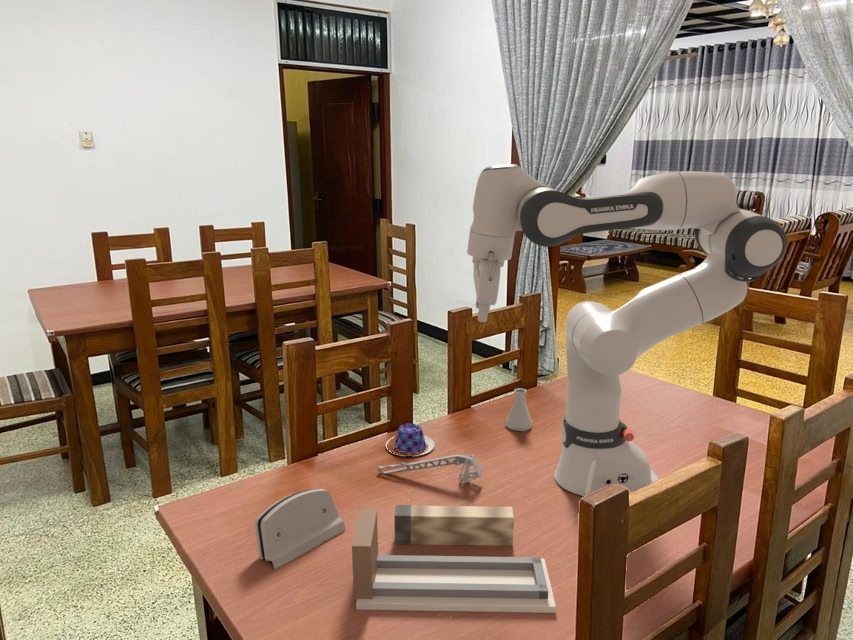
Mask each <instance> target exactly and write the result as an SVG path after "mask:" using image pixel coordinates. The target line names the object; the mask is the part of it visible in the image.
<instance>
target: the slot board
mask: <svg viewBox="0 0 853 640" xmlns="http://www.w3.org/2000/svg"><path fill="white" fill-rule="evenodd" d="M378 535H379V534H378V510H376V509H375V510H374V509H359V512H358V516H357V521H356V526H355V530H354V534H353V539H352V544H351V556H352V558H351V560H352V561H351V562H352V584H353V586H352V587H353V600H356V602H355V606H356V607H355V609H356V610H360V611H410V612H411V611H414V612H415V611H420V612H421V611H424V612H476V613H477V612H478V613H479V612H480V613H482V612H483V613H485V612H486V613H535V614H536V613H537V614H538V613H540V614H541V613H542V614H547V613H548V614H550V613H551V614H556V609H557V607H556V602H555V596H554V593H553V590H552V584H551V581H550V576H549V573H548V568H547V564H546V560H545V558H543V557H542V558H541V557H534V556H533V557H532V556H530V557H529V556H528V557H527V556H521V557H520V556H476V555H475V556H470V555H469V556H467V555H466V556H465V555H464V556H463V555H460V556H459V555H458V556H457V555H405V554H403V555H400V554H399V555H397V554H396V555H393V554H379V538H378Z"/></svg>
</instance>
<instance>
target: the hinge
mask: <svg viewBox="0 0 853 640" xmlns="http://www.w3.org/2000/svg"><path fill="white" fill-rule="evenodd" d="M254 528H255V534H256V535H255V536H256V543H257V548H258V555H259V559H260V560H264V559H265V560H264V561H267V562H268V561H269V562H272V565H273V569H275V570H277V569H279V568H280V567H282V566H285V565H286V564H287V563H290V562H291V561H293V560H296V559H297V558H299V557H300V556H302V555H304V554H306V553H307V552H309V551H310V550H313V549H314V548H316V547H318V546H320V545H322V544H323V543H325V542H327V541H329V540H331V539H333V538H334V537H336V536H338V535H339V534H341V533H342V532H345V531H346V525H345V522H344V520H343V519H342V518H341V516H340V515H339V512H338V510H337V507H336V504H335V502H334V500H333V497H332V495H331V492H329V491H328V490H326V489H325V488H311V489H305V490H301V491H297V492H295V493H291V494H288V495H286V496H284V497H283V498H281V499H279V500H277V501H276V502H273V504H272V505H270V506H269V507H267V508H266V509H265V510H264V511H263V512H262V513H260V515H258V517H257V518H256V519H255V520H254ZM344 530H345V531H344ZM337 534H338V535H337ZM335 535H336V536H335ZM330 538H331V539H330ZM326 540H327V541H326ZM324 541H325V542H324Z"/></svg>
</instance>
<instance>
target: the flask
mask: <svg viewBox="0 0 853 640" xmlns="http://www.w3.org/2000/svg"><path fill="white" fill-rule="evenodd" d="M513 393H514V401H513V404H512V407H511V409H510V412H509V414H508V416H507V418H506V421H505V425H504V427H505V428H507V429H510V430H511V431H519V432H526V431H528V430H531V429H532V427H533V421H532V417H531V415H530V411H529V409H528V406H527V401H526V393H527V389H525V388H514V391H513Z"/></svg>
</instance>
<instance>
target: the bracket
mask: <svg viewBox="0 0 853 640" xmlns="http://www.w3.org/2000/svg"><path fill="white" fill-rule="evenodd" d="M450 459H453V460H450ZM442 461H444V462H442ZM461 464H462V467H461V469H460V473H459V477H458V481H459V483H460V484H461V485H463V484H466V483H469V482H470V481H473V480H474V481H475V480H477V479H481V478H482V475H483V470H482V468H481V466H480V464H479V462H478V460H477V457H476V456H475V454H474V453H472V455H471V454H467V455H463V454H457V453H456V454H453V455H452V454H451V455H447V456H441V457H436V458H431V459H425V460H419V461H414V462H413V461H412V462H409V463H408V462H404V461H401V462H400V463H399V464H398V463H396V464H388V465H385V464H384V465H379V466H378V467H377V470H378V472H379V474H380V473H382V471H383V469H391V468H397V469H391V470H385V471H383V472H384V473H383V474H382V475H389V474H396V473H398V474H399V473H403V472H410V471H416V470H423V469H430V468H431V469H432V468H436V467H442V466H449V465H450V466H451V465H455V466H460V465H461ZM402 466H403V467H402ZM472 466H473V468H474V471H470V468H471V467H472ZM463 471H464V473H463ZM462 481H463V482H462Z"/></svg>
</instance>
